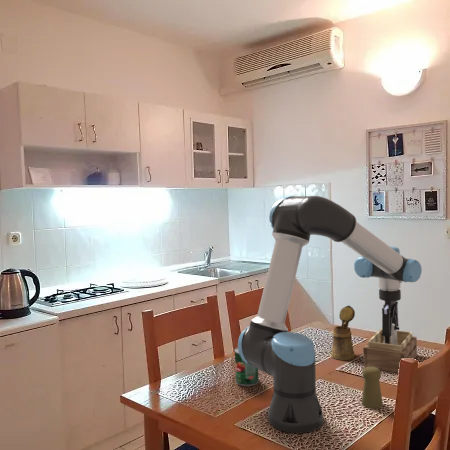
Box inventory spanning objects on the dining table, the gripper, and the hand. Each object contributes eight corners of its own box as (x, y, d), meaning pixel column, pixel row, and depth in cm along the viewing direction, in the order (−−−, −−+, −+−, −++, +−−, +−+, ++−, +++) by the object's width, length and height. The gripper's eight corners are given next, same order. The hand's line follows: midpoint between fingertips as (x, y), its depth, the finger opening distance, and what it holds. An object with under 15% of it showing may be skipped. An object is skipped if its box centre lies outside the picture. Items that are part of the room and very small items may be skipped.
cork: (380, 410, 133) (379, 373, 132) (359, 406, 136) (358, 369, 136) (385, 402, 138) (384, 366, 138) (364, 398, 141) (364, 363, 141)
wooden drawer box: (404, 373, 159) (404, 353, 159) (363, 366, 167) (363, 347, 167) (416, 354, 177) (416, 336, 176) (379, 349, 185) (379, 332, 184)
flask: (381, 353, 169) (381, 326, 168) (379, 347, 176) (378, 321, 175) (402, 354, 168) (402, 327, 167) (399, 347, 175) (399, 321, 174)
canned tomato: (263, 380, 158) (262, 348, 158) (248, 388, 152) (247, 355, 152) (245, 375, 164) (244, 344, 163) (230, 382, 158) (229, 350, 157)
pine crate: (401, 368, 161) (401, 346, 161) (368, 363, 167) (367, 341, 167) (412, 353, 176) (412, 332, 176) (381, 348, 183) (381, 328, 182)
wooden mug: (361, 351, 184) (360, 306, 183) (350, 361, 172) (349, 314, 171) (339, 347, 189) (338, 304, 187) (327, 358, 177) (326, 311, 176)
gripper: (393, 295, 160) (394, 360, 161) (406, 284, 177) (407, 343, 178) (371, 293, 164) (373, 356, 165) (386, 283, 181) (387, 341, 182)
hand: (390, 350), depth 172 cm, fingers closed on flask, 7 cm apart
